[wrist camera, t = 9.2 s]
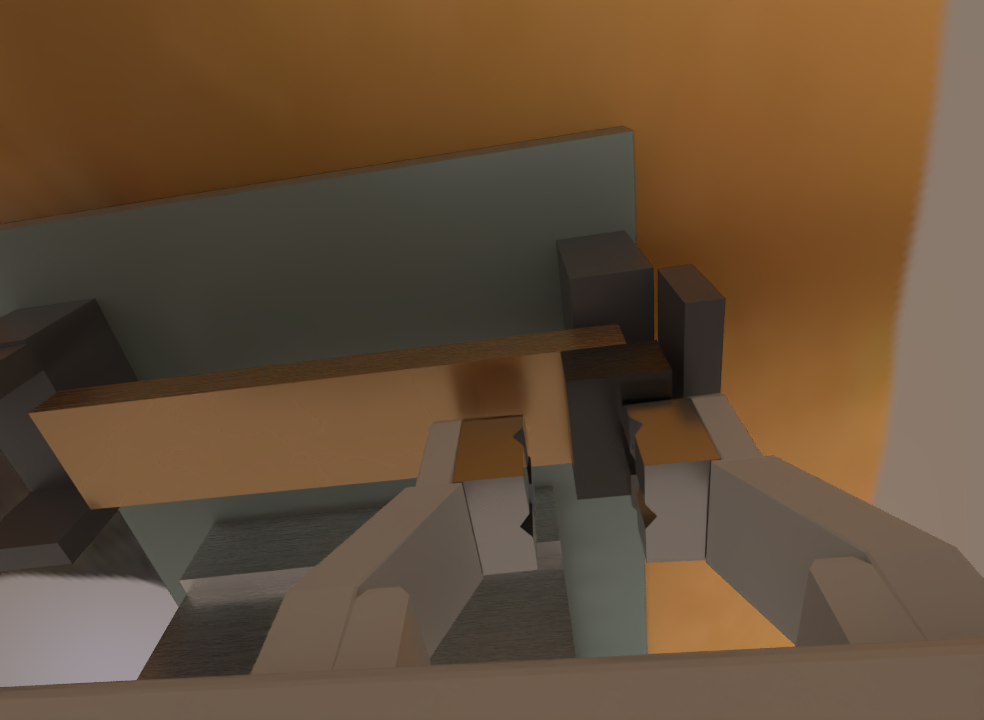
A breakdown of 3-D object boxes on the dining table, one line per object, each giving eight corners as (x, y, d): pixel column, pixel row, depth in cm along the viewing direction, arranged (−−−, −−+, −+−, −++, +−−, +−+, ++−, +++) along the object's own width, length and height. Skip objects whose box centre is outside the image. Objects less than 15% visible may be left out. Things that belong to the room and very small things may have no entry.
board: (313, 787, 25) (306, 813, 24) (-14, 226, 13) (-50, 238, 12) (644, 762, 24) (650, 789, 23) (623, 126, 12) (633, 131, 11)
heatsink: (297, 686, 20) (242, 862, 16) (213, 524, 16) (108, 696, 12) (574, 662, 19) (598, 839, 15) (552, 486, 16) (575, 654, 11)
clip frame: (305, 791, 24) (269, 927, 20) (15, 309, 13) (-174, 406, 9) (659, 765, 22) (692, 904, 19) (654, 216, 12) (725, 285, 8)
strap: (114, 483, 12) (55, 546, 11) (59, 390, 11) (-17, 446, 9) (648, 429, 11) (671, 491, 9) (646, 320, 10) (672, 369, 8)
